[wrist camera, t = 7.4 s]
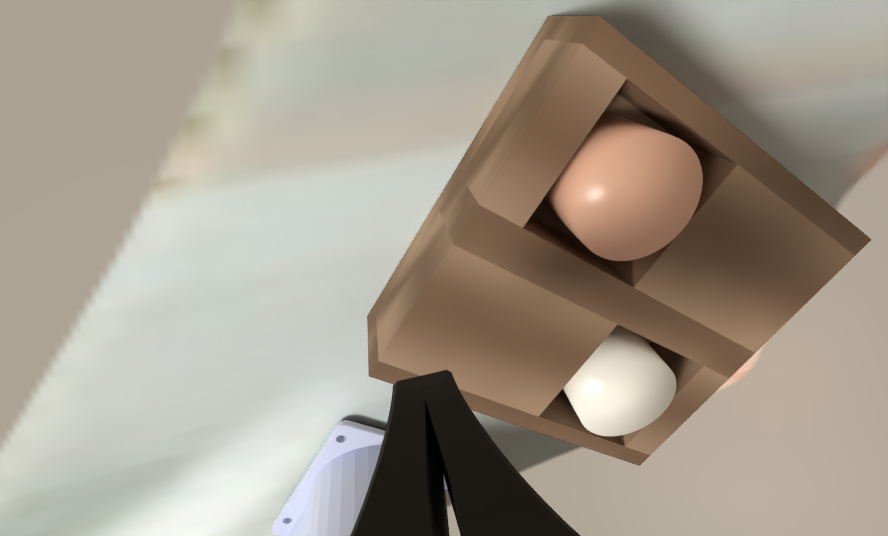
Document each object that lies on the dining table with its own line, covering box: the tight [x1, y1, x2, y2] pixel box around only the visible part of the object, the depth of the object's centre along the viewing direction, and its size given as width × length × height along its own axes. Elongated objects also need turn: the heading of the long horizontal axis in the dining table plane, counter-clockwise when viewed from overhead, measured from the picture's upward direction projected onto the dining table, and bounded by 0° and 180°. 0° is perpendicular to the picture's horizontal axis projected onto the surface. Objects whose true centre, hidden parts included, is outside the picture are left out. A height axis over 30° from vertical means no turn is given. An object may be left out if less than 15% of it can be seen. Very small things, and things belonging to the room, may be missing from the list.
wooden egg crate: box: [367, 16, 871, 465], centre depth 19 cm, size 14×15×4 cm
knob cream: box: [563, 325, 676, 436], centre depth 21 cm, size 4×4×3 cm
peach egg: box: [543, 113, 703, 261], centre depth 16 cm, size 4×4×3 cm
